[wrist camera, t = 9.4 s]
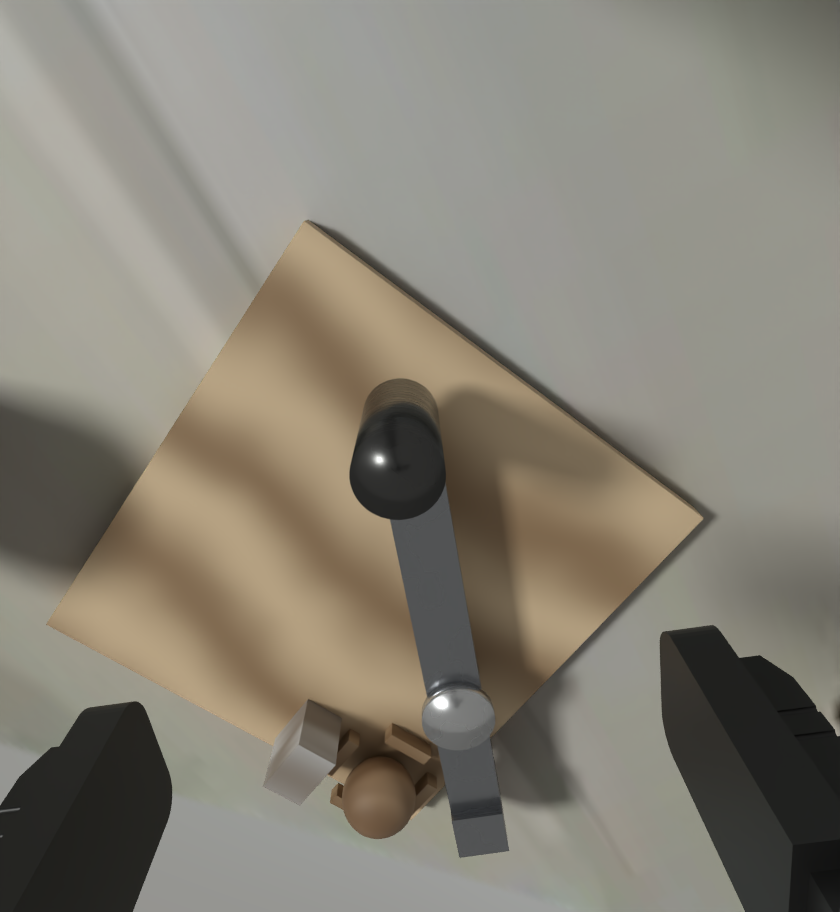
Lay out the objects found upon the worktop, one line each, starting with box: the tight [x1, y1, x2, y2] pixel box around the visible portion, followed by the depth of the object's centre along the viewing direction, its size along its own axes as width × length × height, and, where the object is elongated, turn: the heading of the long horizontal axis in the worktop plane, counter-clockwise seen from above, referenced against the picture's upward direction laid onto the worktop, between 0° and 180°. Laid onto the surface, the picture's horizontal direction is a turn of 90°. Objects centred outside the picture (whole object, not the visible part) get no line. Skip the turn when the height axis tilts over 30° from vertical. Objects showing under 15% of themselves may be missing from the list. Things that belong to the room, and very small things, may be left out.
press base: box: [46, 220, 704, 820], centre depth 30 cm, size 23×21×4 cm
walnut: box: [342, 756, 416, 839], centre depth 33 cm, size 4×4×4 cm
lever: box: [349, 378, 509, 858], centre depth 27 cm, size 24×3×8 cm, turn 10°
